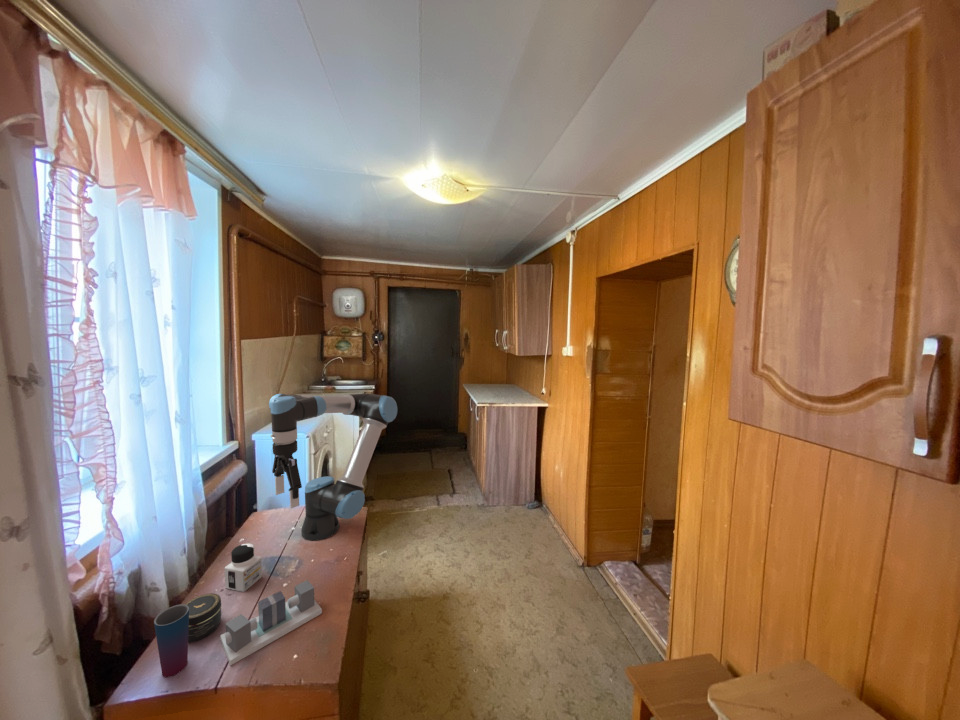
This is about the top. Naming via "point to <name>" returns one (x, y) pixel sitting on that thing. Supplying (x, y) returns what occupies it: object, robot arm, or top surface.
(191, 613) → the jar
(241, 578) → the container
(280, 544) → the top surface
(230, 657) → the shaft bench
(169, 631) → the cup
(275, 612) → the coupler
